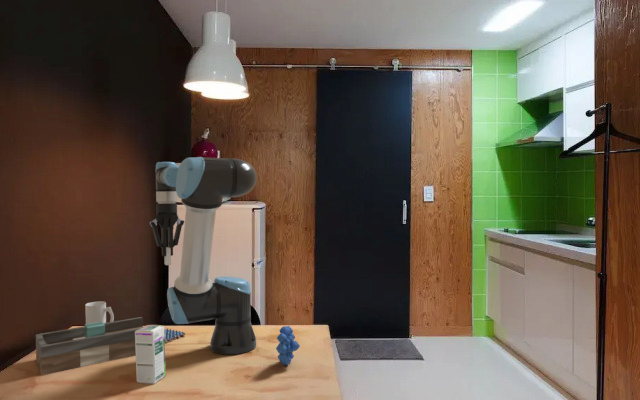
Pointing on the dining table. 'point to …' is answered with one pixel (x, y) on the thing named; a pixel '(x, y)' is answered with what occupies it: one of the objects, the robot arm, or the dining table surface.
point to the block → (94, 329)
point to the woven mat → (172, 335)
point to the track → (85, 346)
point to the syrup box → (150, 354)
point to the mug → (97, 312)
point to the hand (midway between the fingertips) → (167, 264)
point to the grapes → (286, 345)
